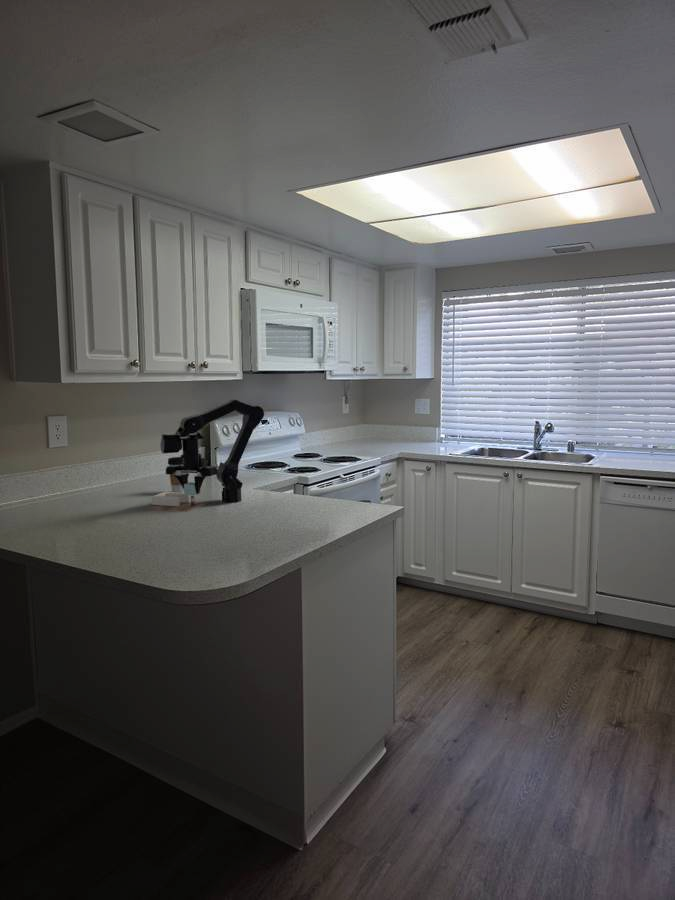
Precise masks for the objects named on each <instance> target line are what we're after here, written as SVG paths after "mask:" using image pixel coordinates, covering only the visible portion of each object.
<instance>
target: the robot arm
mask: <svg viewBox="0 0 675 900" xmlns="http://www.w3.org/2000/svg"><path fill="white" fill-rule="evenodd" d="M233 412H237V413H239V414H242V423H241V428H240V430H239V432H238V435H237V436H236V439H235V441H234V444H233V446H232V447H231V451H230V452H229V455H228V457H227V459H226V460H225V461H224V462H222V461H220V462H219V465H218V468H217V467H216V466H210V465H208V462H209V460H208V459H206V458H203V457H202V454H201V453H199V452H200V451H199V449H200V448H199V440H201V439H202V440H204V439H205V437H204V436H203V435H202V434H201V433H200V430H202V429H203V428H204V427H205V426H207V424H209V423H212V422H213V421H217V420H218V419H220V418H223V417H224V416H226V415H229V414H230V413H233ZM264 416H265V412H264V409H263V408H262V407H261V406H258V405H253V404H252V405H249V404H247V403H244V402H242V401H240V400H238V399H230V400H228V401H227V402H225V403H223V404H220V405H217V406H216V407H214V408H211V409H209V410H207V411H204V412H203V413H199V414H193V415H189V416H185V417H183V418H182V419H181V420H180V421H179V427H178V429H177V430H176V431H175V433H174V434H172V433H171V434H163V433H162V434H161V439H160V450H161V454H175V453H179V452H180V451H181V450H182V454H180V457H181V458H183V466H182V465H171V466H169V465H167V466H166V468H165V475H170V474H171V475H172V474H174V473H175V475H174V477H177V479H178V480H179V482H180V483H181V485H182V487H183V489H184V484H186V483H189V476H190V474H196V475H195V476H194V477H193V479H194V482H195V488H196V493H197V495H199V492H200V493H201V488H202V486H203V482H204V480H205V479H206V478H207V477H211V476H215V475H216V480H217V481H218V482H219V483H221V486H222V491H221V502H224V503H228V504H229V503H230V504H232V503H233V504H235V503H240V502H242V487H243V482H242V481H241V480H239V479H238V473H239V464H240V461H241V459H242V457H243V454H244V452H245V451H246V448H247V446H248V443H249V441H250V440H251V436H252V434H253V431H254V430H255V429H256V428H257V426H259V425H260V423H261V421H262V420H263V419H264Z"/></svg>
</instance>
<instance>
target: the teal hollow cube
mask: <svg viewBox="0 0 675 900" xmlns="http://www.w3.org/2000/svg"><path fill="white" fill-rule="evenodd" d="M199 494H200V495H201V491H200V492H199ZM199 494H197V493H196V488H195V481H188V483H186V484H184V495H190V496H197V495H199Z"/></svg>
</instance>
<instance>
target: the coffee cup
mask: <svg viewBox="0 0 675 900" xmlns="http://www.w3.org/2000/svg"><path fill="white" fill-rule="evenodd" d="M167 459H168V460H167V465H168V466H171V465H182V466H183V458H181V456H175V457H169V458H167ZM174 475H175V473H174V474H172V475H171V474H169V479H170V480H169V481H170V486H171V487H170V488H171V492H173V493H184V489H183V487H182V485H181V483H180V482H179V480H178V479H177V477H174Z"/></svg>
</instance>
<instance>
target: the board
mask: <svg viewBox="0 0 675 900" xmlns="http://www.w3.org/2000/svg"><path fill="white" fill-rule="evenodd" d="M207 504H208V503H206V502H195V505H194V506H191V501H190V502H180V506H165V505H150V506H147V507H145V508H143V509H145V510H146V509H147V510H160V511H173V512H174V511H175V512H185V513H186V512H187V513H188V512H189V511H192V510H195V509H197V508H200V507H202V506H204V505H207Z"/></svg>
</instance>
